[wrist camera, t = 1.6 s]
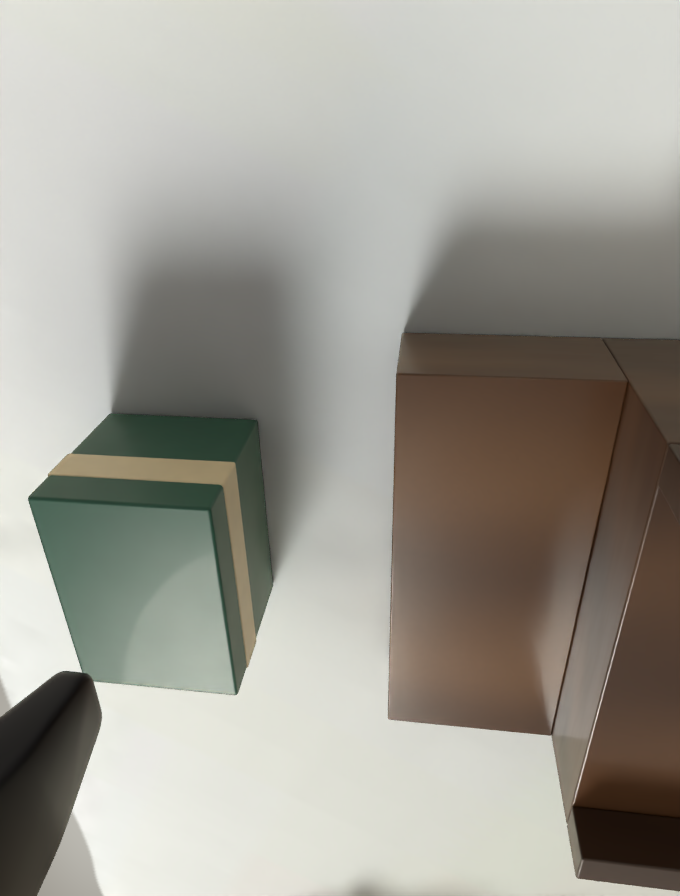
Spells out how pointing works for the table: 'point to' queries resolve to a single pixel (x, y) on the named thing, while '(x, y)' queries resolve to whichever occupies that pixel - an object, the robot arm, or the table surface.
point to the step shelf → (548, 570)
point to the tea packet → (160, 549)
